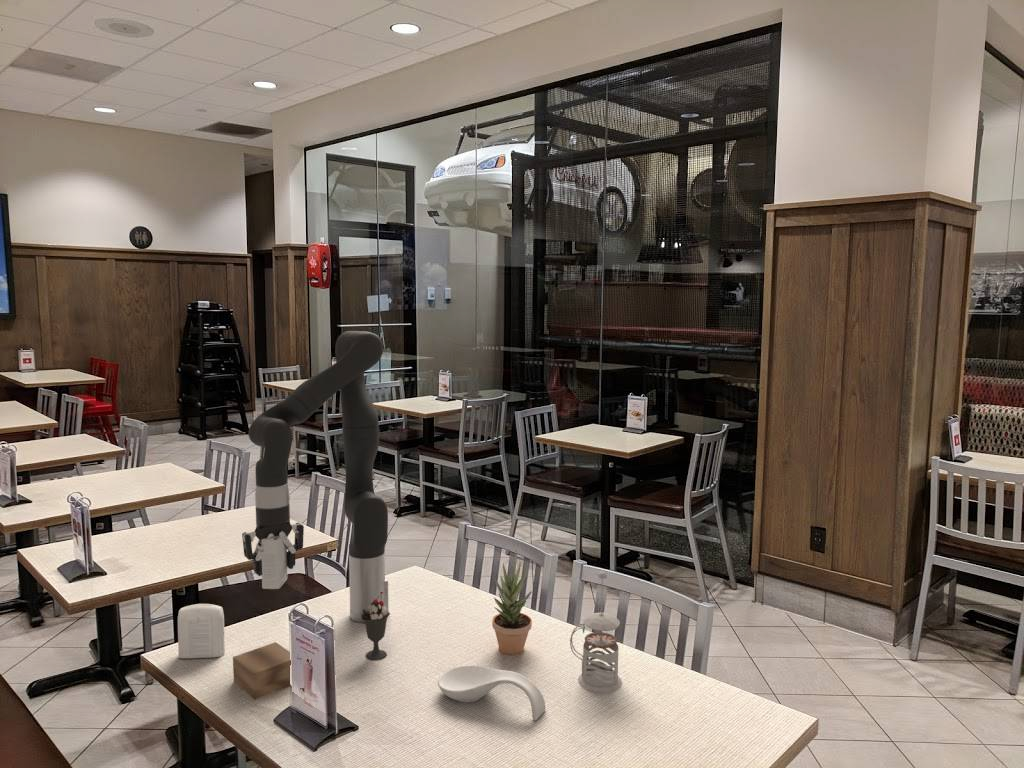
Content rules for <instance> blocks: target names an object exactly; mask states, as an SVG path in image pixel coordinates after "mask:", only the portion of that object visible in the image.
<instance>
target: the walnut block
mask: <svg viewBox="0 0 1024 768" xmlns="http://www.w3.org/2000/svg"><path fill="white" fill-rule="evenodd" d="M290 652H291V651H289V650H288V649H286V648H285V647H283V646H282V645H280V644H279V643H277V642H272V643H269V644H267V645H264V646H261V647H258V648H254V649H252V650H248V651H246V652H243V653H240V654H238V655H235V656H232V666H233V667H232V669H233V670H232V671H233V674H232V675H233V683H234V684H236V685H237V686H238V687H239V688H240V689H242V690H243V691H244V692H245V693H246V694H247V695H249V696H250V697H251V698H252V699H254V700H258V699H261V698H263V697H266V696H267V695H271V694H273V693H275V692H278V691H280V690H283V689H286V688H288V687H291V686H290V665H291V660H290Z"/></svg>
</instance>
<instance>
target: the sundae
mask: <svg viewBox="0 0 1024 768" xmlns="http://www.w3.org/2000/svg"><path fill="white" fill-rule="evenodd" d="M382 593H383V592H380V594H381V596H382ZM378 598H379V597H378ZM378 598H377V599H378ZM377 599H375V600H374V601H373V602H372V603H371V604H369V606H368V607H367V610H366V611H365V609H363V610H362V611H363V613H362V614H361V618H362V620H365V624H364V625H365V631H366V632H365V633H366V636H367V639H368V640H370V641H371V642H372V643H373V649H372V650H369V651H368V652H366V653H365V658H366V659H367V660H369V661H380V660H383V659H385V658H386V657H387V655H388V654H387V652H386V650H384V649H380V647H379V643H380V641H382V639H383V638H384V637H385V633H386V628H387V621H388V620H387V619H388V618H389V617H390V615H391V613H390V612H388V611H387V609H386V607H385V606H383V605H384V602H383V601H382V599H381V601H380V602H378V600H377Z"/></svg>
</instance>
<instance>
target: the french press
mask: <svg viewBox="0 0 1024 768" xmlns="http://www.w3.org/2000/svg"><path fill="white" fill-rule="evenodd" d="M607 575H608V574H607V573H606V572H604V571H599V573H598V574H597V577H598V578H599V579H601V593H600V595H601V597H600V601H601V602H600V605H601V607H600V608H601V609H600V612H593V613H590V614H588V615H586V616H584V618H583V619H582V621H583V624H579V625H577V626H576V627H574V628H573V630H572V632H571V634H570V638H569V642H570V643H569V645H570V646H569V647H570V650H571V652H572V654H573V656H575V657H576V658H578V659H579V660H581V673H580V674H579V676H578V678H577V683H578V684H579V686H581V687H582V688H583V689H585V690H587V691H589V692H594V693H598V694H599V693H600V694H601V693H604V694H605V693H606V694H607V693H612V692H615V691H617V690H619V689H621V687H622V686H623V680H622V678H621V677H620V676H618V675H619V645H618V638H617V637H616V636H614V634H611V633H608V632H611V631H614V630H616V629H618V628H619V626H620V625H621V622H620V619H618V618H617V617H616V616H614V615H612V614H610V613H606V612H603V586H604V583H603V581H604V580H605V579H607V577H608V576H607ZM582 626H583V627H582ZM585 626H586V627H587V628H588V629H590V630H592V631H596V632H589V633H588V634H586V636H585V637H584V643H583V645H582V646H583V647H582V648H583V649H582V654H581V653H580V652H578V651H577V649H575V647H574V644H573V636H574V634H575V633H576V632H577V631H578V630H582V633H583V634H584V633H585V628H586V627H585ZM594 649H597V650H594ZM598 649H602V650H598ZM609 649H610V650H609ZM592 650H594V651H592ZM603 650H604V651H603ZM611 650H612V651H613V652H612V651H611ZM577 654H578V655H579V656H578V655H577ZM580 656H581V657H582V658H581V657H580ZM606 663H607V664H608V665H607V664H606Z"/></svg>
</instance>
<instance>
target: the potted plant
mask: <svg viewBox="0 0 1024 768" xmlns="http://www.w3.org/2000/svg"><path fill="white" fill-rule="evenodd" d="M521 565H522V563H521V561H520V562H519V564H518V567H517V549H515V551H514V560H513V566H512V573H511V572H509V574H507V570H506V568H505V567H506V566H505V563H504V562H502V572H503V577H502V575H500V583H501V585H500V584H499V582H498V581H497V579H496V578H494V581H495V582H494V583H495V584H496V587H497V590H498V591H499V593H498V597H499V599H500V600H501V601H500V600H498V599H497V598H495V597H493V599H494V601H495V603H496V604H497V606H498V608H497V607H495V606H493V608H494V609H495V610H496V611H497V612H498V614H495V615H494V616H493V617H492V619H491V620H492V621H491V622H492V623H491V624H492V625H491V626H492V628H493V630H494V632H495V636H496V640H497V644H498V649H499V650H498V651H499V652H500V653H502V654H505V655H510V654H512V655H517V654H518V655H519V654H520V653H522V652H523V651H524V649H525V646H526V642H527V638H528V635H529V632H530V630H531V628H532V625H533V620H532V617H530V616H529V615H528V614H526V613H523V612H521V611H522V609H523V607H524V606H525V604H527V603H526V602H527V600H528V599H529V598H530V596H531V594H532V592H533V591H532V590H531V591H529V593H528V594H526V596H525V597H524V598H521V599H519V600H518V598H519V596H520V593H521V591H522V589H523V585H524V583H525V579H526V576H527V573H528V571H529V568H528V567H527V568H526V570H525V571H524V573H523V575H522V577H521V578H520V580H519V577H520V572H521ZM516 569H517V570H516ZM508 575H509V577H508Z"/></svg>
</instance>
